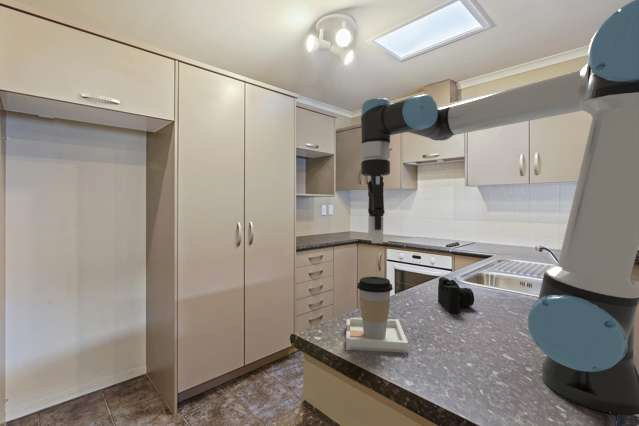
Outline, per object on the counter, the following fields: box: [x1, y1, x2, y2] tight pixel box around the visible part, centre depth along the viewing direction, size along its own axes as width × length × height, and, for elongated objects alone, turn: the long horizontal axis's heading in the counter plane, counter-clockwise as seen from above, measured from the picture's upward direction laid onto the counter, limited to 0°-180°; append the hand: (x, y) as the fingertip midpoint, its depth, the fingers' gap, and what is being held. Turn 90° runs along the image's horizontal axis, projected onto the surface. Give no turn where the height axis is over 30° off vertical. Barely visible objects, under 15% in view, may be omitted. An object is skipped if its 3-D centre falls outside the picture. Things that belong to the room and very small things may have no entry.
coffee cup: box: [356, 276, 394, 340], centre depth 82 cm, size 9×9×15 cm
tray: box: [345, 317, 409, 354], centre depth 83 cm, size 15×15×2 cm
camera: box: [437, 276, 475, 315], centre depth 107 cm, size 14×11×10 cm
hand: (375, 240), depth 82 cm, fingers open, 13 cm apart
